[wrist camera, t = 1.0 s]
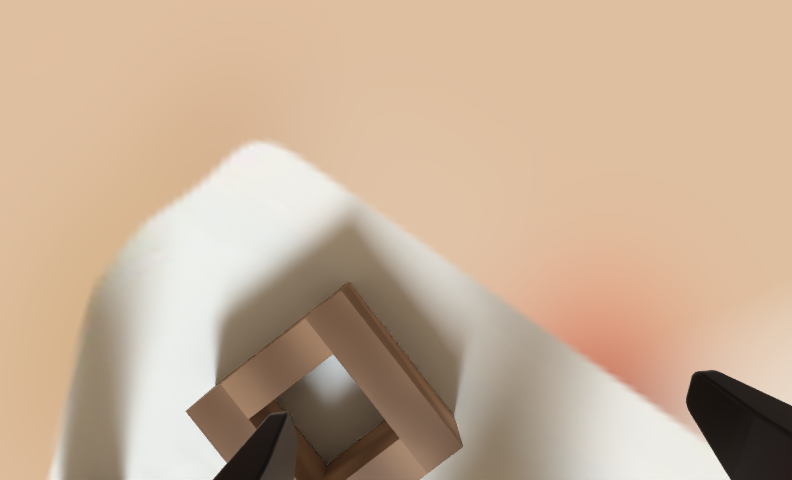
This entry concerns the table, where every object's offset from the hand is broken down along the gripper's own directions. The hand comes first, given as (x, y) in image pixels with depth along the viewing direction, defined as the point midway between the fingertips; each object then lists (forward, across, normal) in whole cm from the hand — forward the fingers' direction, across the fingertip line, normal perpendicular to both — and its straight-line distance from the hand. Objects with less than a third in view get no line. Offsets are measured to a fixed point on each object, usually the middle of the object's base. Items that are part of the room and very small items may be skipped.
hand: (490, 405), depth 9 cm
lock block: (+13, +7, +12) cm, 19 cm away
